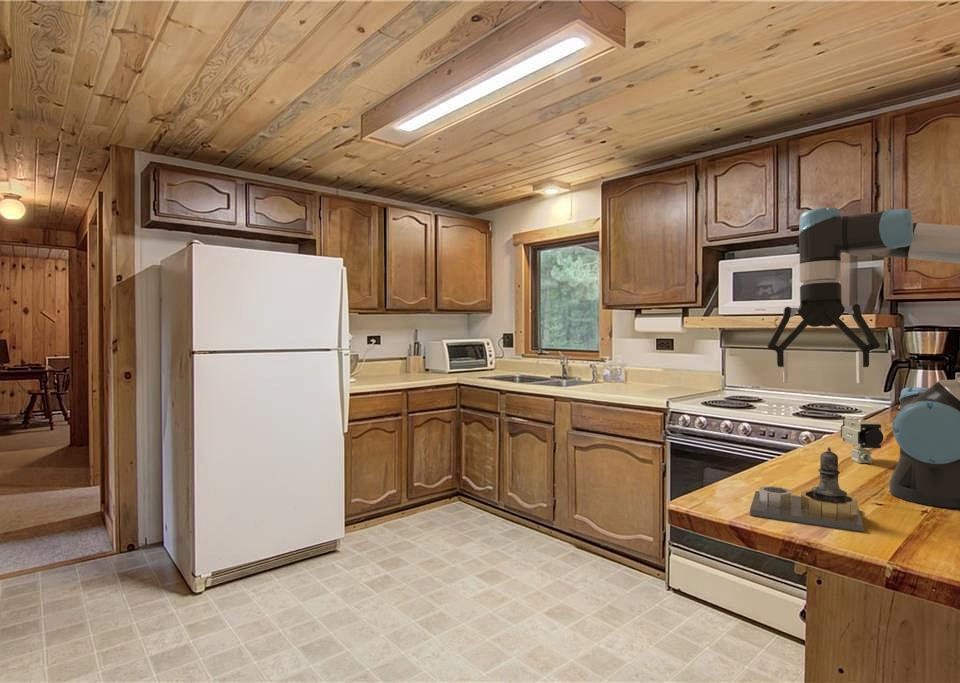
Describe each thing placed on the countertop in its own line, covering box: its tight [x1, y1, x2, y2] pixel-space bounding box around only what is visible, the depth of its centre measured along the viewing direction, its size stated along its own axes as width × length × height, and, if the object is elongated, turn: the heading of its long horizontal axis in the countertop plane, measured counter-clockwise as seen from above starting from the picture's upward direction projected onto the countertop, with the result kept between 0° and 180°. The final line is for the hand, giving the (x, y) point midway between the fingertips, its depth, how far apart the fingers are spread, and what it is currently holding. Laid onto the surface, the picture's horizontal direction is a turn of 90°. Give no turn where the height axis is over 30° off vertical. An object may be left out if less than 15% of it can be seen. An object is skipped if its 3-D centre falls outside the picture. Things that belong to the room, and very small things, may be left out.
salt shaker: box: [810, 447, 848, 503], centre depth 107 cm, size 6×6×12 cm
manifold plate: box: [749, 485, 864, 533], centre depth 109 cm, size 18×14×4 cm
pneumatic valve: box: [840, 416, 885, 464], centre depth 149 cm, size 6×12×12 cm, turn 174°
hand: (821, 382), depth 119 cm, fingers open, 13 cm apart
